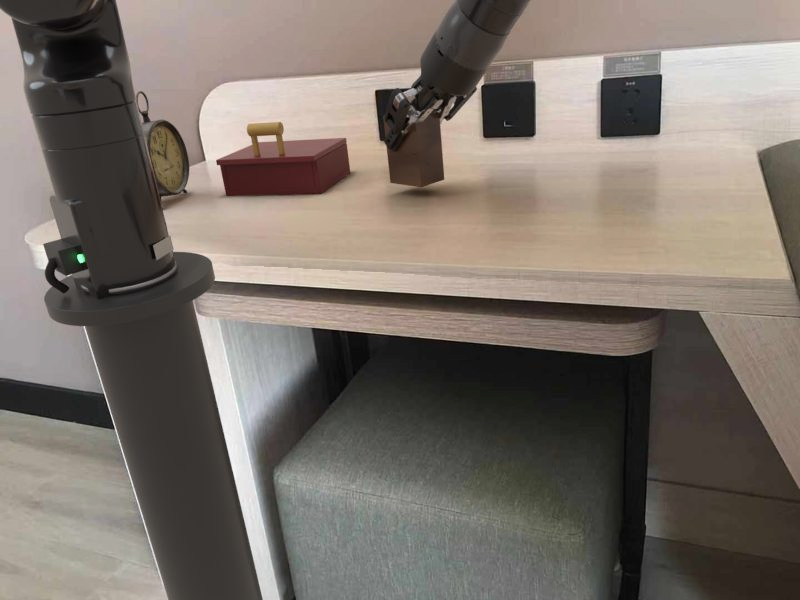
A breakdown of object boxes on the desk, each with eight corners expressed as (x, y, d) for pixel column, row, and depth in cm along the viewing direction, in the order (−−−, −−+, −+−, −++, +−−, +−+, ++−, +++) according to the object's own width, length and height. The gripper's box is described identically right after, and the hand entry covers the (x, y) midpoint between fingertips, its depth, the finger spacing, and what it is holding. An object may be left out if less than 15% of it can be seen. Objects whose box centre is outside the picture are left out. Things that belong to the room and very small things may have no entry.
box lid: (314, 161, 96) (308, 122, 94) (216, 165, 100) (209, 128, 98) (346, 142, 107) (342, 107, 105) (258, 147, 112) (252, 113, 110)
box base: (321, 193, 98) (316, 160, 96) (226, 196, 103) (219, 164, 101) (350, 173, 109) (346, 143, 107) (263, 176, 114) (258, 147, 112)
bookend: (421, 187, 89) (415, 117, 86) (390, 183, 93) (383, 116, 90) (444, 179, 92) (439, 111, 89) (413, 175, 96) (407, 110, 93)
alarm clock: (164, 211, 98) (136, 94, 91) (130, 212, 99) (100, 97, 92) (198, 191, 108) (175, 85, 101) (167, 193, 109) (142, 88, 102)
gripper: (485, 16, 84) (424, 114, 97) (403, 27, 76) (348, 132, 88) (521, 60, 83) (454, 153, 96) (442, 76, 74) (379, 176, 87)
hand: (403, 142), depth 92 cm, fingers closed on bookend, 4 cm apart
